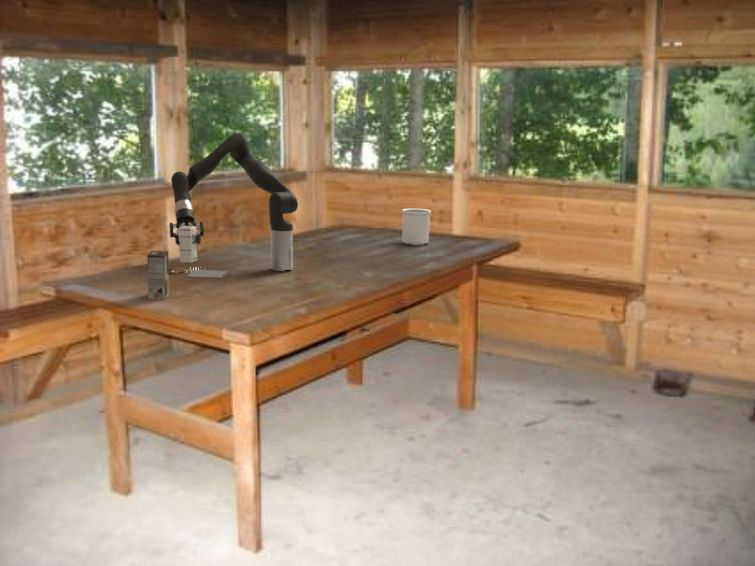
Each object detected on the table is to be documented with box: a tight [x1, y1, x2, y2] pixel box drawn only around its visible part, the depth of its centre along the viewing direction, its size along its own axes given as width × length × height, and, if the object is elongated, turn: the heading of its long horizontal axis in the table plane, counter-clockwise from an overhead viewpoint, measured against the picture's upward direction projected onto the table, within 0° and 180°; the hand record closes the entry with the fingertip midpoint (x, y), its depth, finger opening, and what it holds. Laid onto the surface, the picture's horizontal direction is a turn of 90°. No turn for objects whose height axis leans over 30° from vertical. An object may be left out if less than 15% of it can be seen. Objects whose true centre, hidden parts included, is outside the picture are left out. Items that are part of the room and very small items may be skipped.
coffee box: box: [147, 250, 170, 300], centre depth 315 cm, size 9×6×16 cm
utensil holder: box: [401, 207, 432, 244], centre depth 454 cm, size 15×15×18 cm
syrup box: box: [178, 226, 199, 263], centre depth 364 cm, size 6×6×14 cm
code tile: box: [170, 266, 200, 274], centre depth 366 cm, size 12×12×1 cm
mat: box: [186, 269, 229, 280], centre depth 358 cm, size 14×14×1 cm
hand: (188, 243), depth 363 cm, fingers closed on syrup box, 7 cm apart
